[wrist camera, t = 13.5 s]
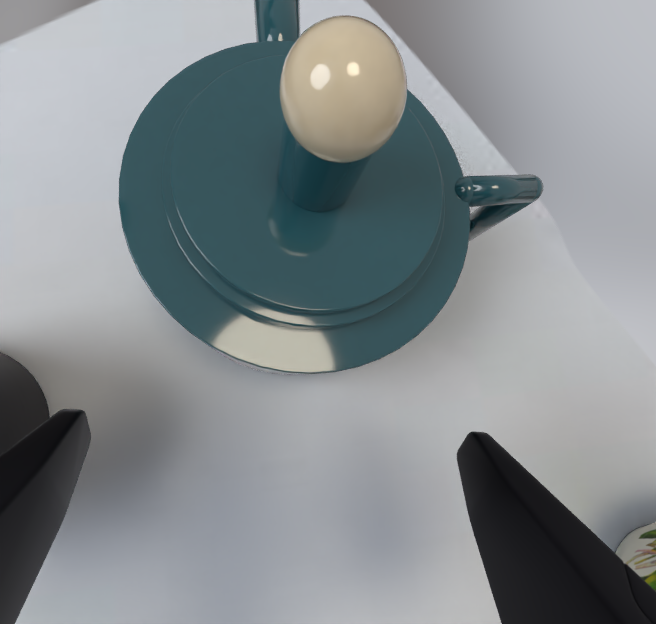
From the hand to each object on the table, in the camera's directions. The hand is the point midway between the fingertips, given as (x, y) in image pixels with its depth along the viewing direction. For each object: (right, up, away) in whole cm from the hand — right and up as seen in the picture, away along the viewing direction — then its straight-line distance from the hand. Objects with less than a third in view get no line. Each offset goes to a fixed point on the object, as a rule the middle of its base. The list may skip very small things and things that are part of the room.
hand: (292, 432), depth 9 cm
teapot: (0, +9, +13) cm, 15 cm away
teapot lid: (0, +7, +4) cm, 8 cm away
